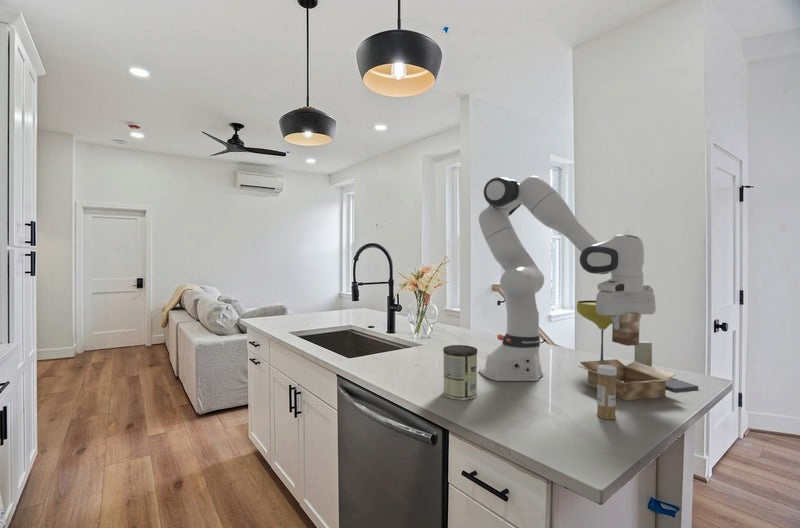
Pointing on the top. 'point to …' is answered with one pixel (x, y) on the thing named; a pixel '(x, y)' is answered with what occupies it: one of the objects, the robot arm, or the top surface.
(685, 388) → the mat
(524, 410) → the top surface
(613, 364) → the carton
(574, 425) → the top surface
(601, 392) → the sprinkles bottle
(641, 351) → the box
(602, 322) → the cocktail glass
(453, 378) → the coffee can
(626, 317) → the block
